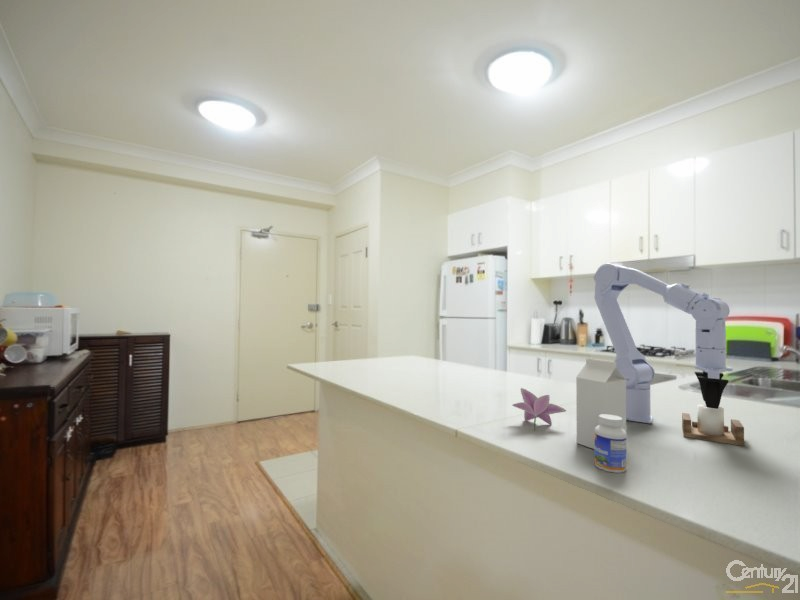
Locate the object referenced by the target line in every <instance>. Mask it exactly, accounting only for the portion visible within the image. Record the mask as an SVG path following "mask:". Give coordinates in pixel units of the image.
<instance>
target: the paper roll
mask: <svg viewBox="0 0 800 600" xmlns="http://www.w3.org/2000/svg"><path fill="white" fill-rule="evenodd" d="M696 407H697V408H696V411H697V414H696V415H697V417H696V418H697V421H696V422H697V424H698V431H699V432H701V433H705V434H709V435H718V436H721V435H724V425H725V411H724V410H725V408H724V407H721V406H719V407H718V409H715V408H707V406H706V404H697V405H696Z"/></svg>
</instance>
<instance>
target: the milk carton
mask: <svg viewBox="0 0 800 600" xmlns="http://www.w3.org/2000/svg"><path fill="white" fill-rule="evenodd" d="M585 360H586V362H585V364H584V366H583V367H582V369H580V371H579V373H578V374H577V376H576V382H575V383H576V444H579V445H580V446H584V447H587V448H590V449H593V450H595V427H596V426H598V425H600V423H599V415H601V414H610V415H616V416H619V417H621V418H622V419H623V425H622V426H621V428H622V429H624V430H625V432H626V433H627V420H626V379H625V378H624V377H623V375H622V374H621V373H620V372H619V370H618V369H617V368H616V362H614V361H609V360H608V361H607V360H600V359H594V358H593V359H592V358H586V359H585Z"/></svg>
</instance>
